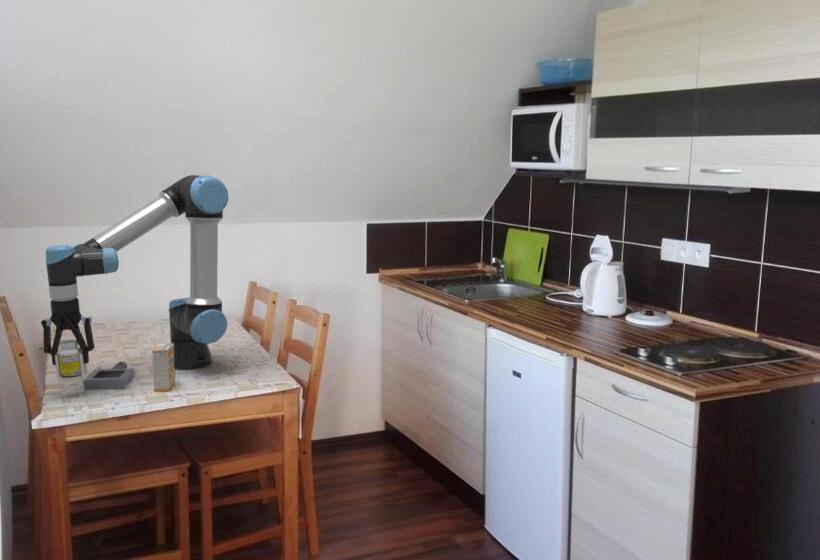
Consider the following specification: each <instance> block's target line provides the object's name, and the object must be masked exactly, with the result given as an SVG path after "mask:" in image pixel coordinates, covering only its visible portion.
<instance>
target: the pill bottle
mask: <svg viewBox="0 0 820 560" xmlns="http://www.w3.org/2000/svg"><path fill="white" fill-rule="evenodd" d="M59 348H60V349H59V350H58V352H57V353H58V356H59V365H60V373H61V376H60V378H61V380H63V381H73V380H74V381H75V380H78V379H81V378H83V377H84V375H81V365H80V355H79V354H80V353H81V352H82V351H81V349H80V347H79V345H78V342H77V340H76V339H66V340H63V341H60V344H59Z"/></svg>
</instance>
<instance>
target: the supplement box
mask: <svg viewBox="0 0 820 560" xmlns="http://www.w3.org/2000/svg"><path fill="white" fill-rule="evenodd" d="M151 351H152V368H153V369H152V370H153V389H154V392H169V391H170V390H171V389H172V388H173V386H174V385H175V384H176V371H175V370H176V369H175V366H174V344H171V343H158V344H157V345H156V346H155V347H154V348H153V349H152V350H151Z"/></svg>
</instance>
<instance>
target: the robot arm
mask: <svg viewBox="0 0 820 560" xmlns="http://www.w3.org/2000/svg"><path fill="white" fill-rule="evenodd" d="M228 202H229V190H228V189H227V187H226V185H225V184H224V183H223V182H222V181H221V180H220V179H219V178H217V177H214V176H211V175H198V174H197V175H194V174H190V175H187V176H184V177H183V178H181V179H179V180H177V181H176V182H174V183H173V184H171V185H170V186H168V187H167V188H165V189H163V190H162V191H160V192H159V193H158V197H156V198H155V199H154V200H151V201H150V202H148V203H147V204H146V205H144V206H141V208H139V209H137V210H135V211H134V212H132V213H131V214H129V215H128V216H127V215H126V217H124V218H123V219H121V220H119V221H118V222H116V223H115V224H113V225H111V226H110V227H108V228H106V229H105V230H103V231H102V232H100V233H98V234H97V235H96V236H94V237H92V238H90V239H89V240H87V241H85V242H84V243H78V244H76V245H74V246H73V245H71V244H60V245H59V244H57V245H51V246H48V247H47V248H46V249H45V264H46V272H47V274H46V275H47V280H48V291H49V299H50V312H51V315H50V317H49V318H44V319H42V320H41V322H40V324H41V326H42V328H43V352H44V353H45V354H50V355H51V361H52V363H51V364H52V365H53V366H55V369H56V370H55V371H56V377H57V378H58V377H59V378H61V373H60V365H59V356H58V352H59V348H60V342H61V339H62V335H63V331H65V330H66V331H67V330H68V331H71V332H72V334H73V336H74V338H75V340H77V343H78V348H80V349H81V353H80V354H79V355H80V365H81V375H83V376H85V375H86V374H87V372H88V369H87V364H89V362H90V357H89V352H92V351H93V350H94V349H95V341H94V336H93V330H92V320H93V318H92V316H88V317H87V316H82V314H81V309H80V300H79V298H78V296H79V292H78V291H79V290H78V280H77V277H78V278H79V277H85V276H95V275H104V274H105V275H108V274H112V273H113V274H114V273H116V272H117V271H118V269H119V267H120V266H119V264H120V261H119V255H118V251H120V250H122V249H123V248H125V247H126V246H128V245H130V244H132V243H133V242H135V241H137V239H139V238H141V237H142V236H144V235H145V234H147V233H148V232H150V231H151V230H154V229H155V228H157V227H158V226H160V225H161V224H163V223H164V222H166V221H168V220H169V219H171V218H172V217H173V218H178V217H180V216H182V215H183V214H185V219H186V220H187V221H188V222H189V224H190V225H189V226H190V229H189V231H190V235H189V237H190V239H189V241H190V242H189V243H190V245H189V247H190V248H189V249H190V251H189V252H190V253H189V255H190V259H189V260H190V262H189V263H190V264H189V265H190V267H189V268H190V269H189V273H190V274H189V278H190V279H189V281H190V283H189V285H190V286H189V287H190V288H189V297H182V298H176V299H172V300H170V301H169V303H168V305H169V307H168V312H169V313H168V314H169V333H170V344H174V366H175V370H188V369H189V370H190V369H191V370H193V369H199V368H203V367H208V366H209V365H211V364H212V362H213V358H212V357H213V356H212V353H211V350H210V348H209V345H210V344H214V343H216V342H218V341H220V339H222V338H223V337H224V335H225V333H226V331H227V328H228V320H227V317H226V316H225V314H224V313H223V301H222V299H220V297H219V296H218V265H219V264H218V263H219V262H218V260H219V259H218V258H219V257H218V256H219V253H218V251H219V250H218V247H219V245H218V244H219V240H218V238H219V236H218V235H219V234H218V233H219V228H218V227H219V223H220V222H221V221H222V220H223V217H224V216H223V215H224V214H223V213H224V209H225V208H226V207H227V205H228ZM80 322H81V323H82V325H83V328H84V334H85V338H84V336H83V334H82V332H81V329H80V328H81V327H80V326H79V323H80ZM52 323H53V325H54V326H55V327H56V328H55V331H54V339H53V341H52V333H51V332H52V329H51V328H52ZM85 340H86V341H85Z"/></svg>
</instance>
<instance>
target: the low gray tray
mask: <svg viewBox="0 0 820 560" xmlns="http://www.w3.org/2000/svg"><path fill="white" fill-rule="evenodd" d="M134 378H135V369H134V368H130V367H129V368H128V365H127V362H125V361H119V362H117V363H116V364H115V365H114V366H113V367H112V368H105V369H103V368H101V369H100V368H99V369H98V368H97V369H94V370H93V371H92V372H90V374H88V375H87V376H86V377H85V378H84V379H83V390H85V391H86V390H87V391H88V390H91V391H92V390H117V389H118V390H119V389H120V390H121V389H123V390H124V389H126V388H127V387H128V386H129V384H131V382H132V380H133V379H134Z"/></svg>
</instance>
